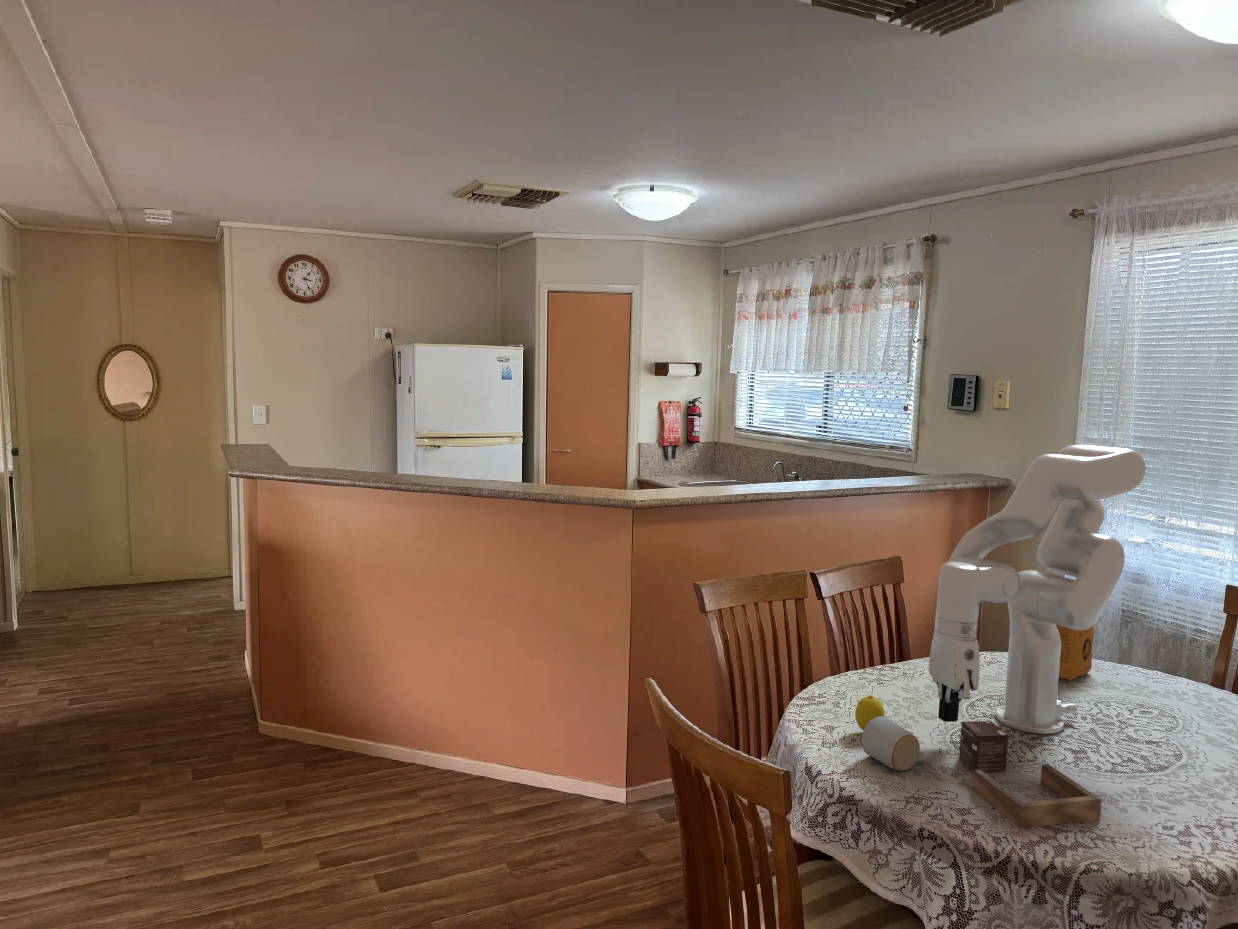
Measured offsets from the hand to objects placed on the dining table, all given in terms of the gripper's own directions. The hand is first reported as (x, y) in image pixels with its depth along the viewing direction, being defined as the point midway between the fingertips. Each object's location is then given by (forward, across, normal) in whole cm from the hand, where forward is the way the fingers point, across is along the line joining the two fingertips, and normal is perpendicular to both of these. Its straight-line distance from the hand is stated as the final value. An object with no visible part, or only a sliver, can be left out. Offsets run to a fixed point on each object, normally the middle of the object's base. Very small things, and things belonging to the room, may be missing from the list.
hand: (947, 719), depth 161 cm
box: (+5, -10, -1) cm, 11 cm away
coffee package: (+3, +30, -51) cm, 59 cm away
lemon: (+5, +6, +13) cm, 15 cm away
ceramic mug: (+6, -5, +14) cm, 16 cm away
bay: (+5, -24, -1) cm, 24 cm away
